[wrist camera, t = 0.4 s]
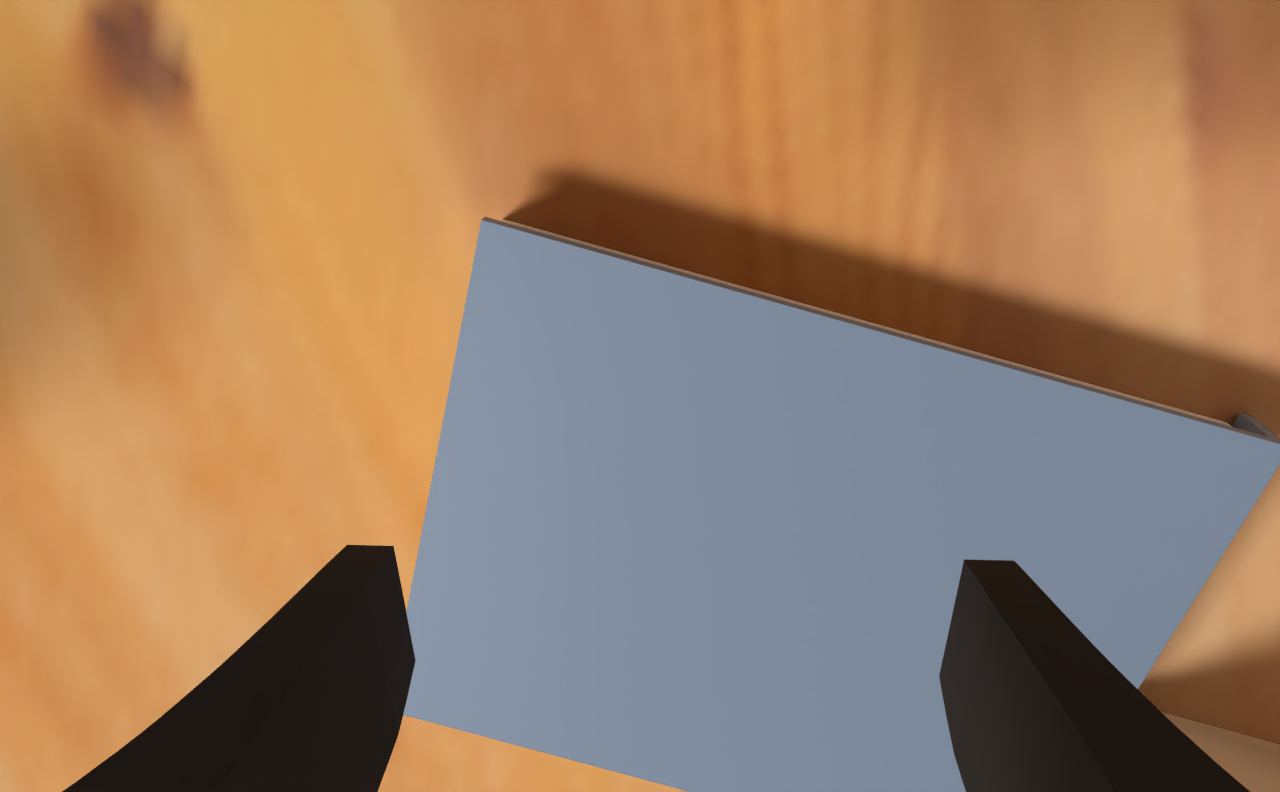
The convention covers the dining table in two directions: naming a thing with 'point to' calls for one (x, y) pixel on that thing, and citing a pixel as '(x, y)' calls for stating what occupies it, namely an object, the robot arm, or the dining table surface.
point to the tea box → (1236, 753)
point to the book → (771, 523)
